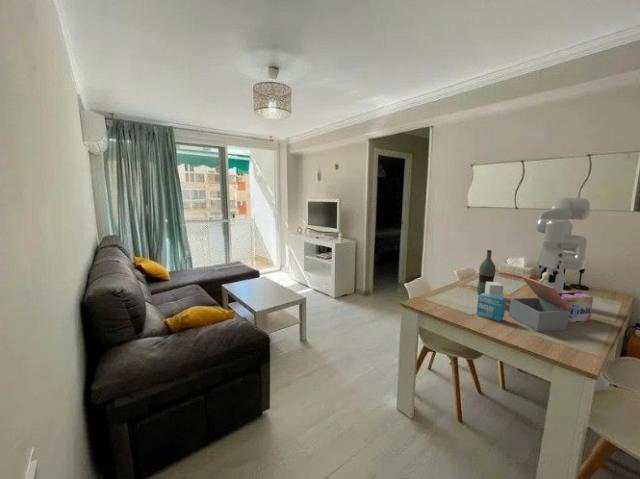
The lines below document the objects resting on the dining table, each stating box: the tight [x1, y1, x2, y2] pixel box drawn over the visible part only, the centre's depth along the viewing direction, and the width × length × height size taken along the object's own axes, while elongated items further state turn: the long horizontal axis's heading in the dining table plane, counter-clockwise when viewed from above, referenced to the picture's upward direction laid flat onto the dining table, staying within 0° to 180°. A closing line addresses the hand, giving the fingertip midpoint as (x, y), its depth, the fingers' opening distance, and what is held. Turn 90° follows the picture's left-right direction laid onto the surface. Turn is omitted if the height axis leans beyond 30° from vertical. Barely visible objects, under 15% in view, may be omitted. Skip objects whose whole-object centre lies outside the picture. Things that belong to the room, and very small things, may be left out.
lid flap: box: [522, 272, 571, 311], centre depth 145 cm, size 17×18×8 cm
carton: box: [508, 297, 570, 333], centre depth 147 cm, size 16×18×10 cm
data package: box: [476, 293, 506, 322], centre depth 153 cm, size 12×4×12 cm, turn 47°
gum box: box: [547, 291, 594, 323], centre depth 152 cm, size 24×8×14 cm, turn 99°
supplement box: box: [485, 281, 504, 297], centre depth 172 cm, size 7×7×13 cm
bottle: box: [476, 249, 496, 296], centre depth 185 cm, size 9×9×30 cm
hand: (547, 280), depth 144 cm, fingers closed on lid flap, 4 cm apart
